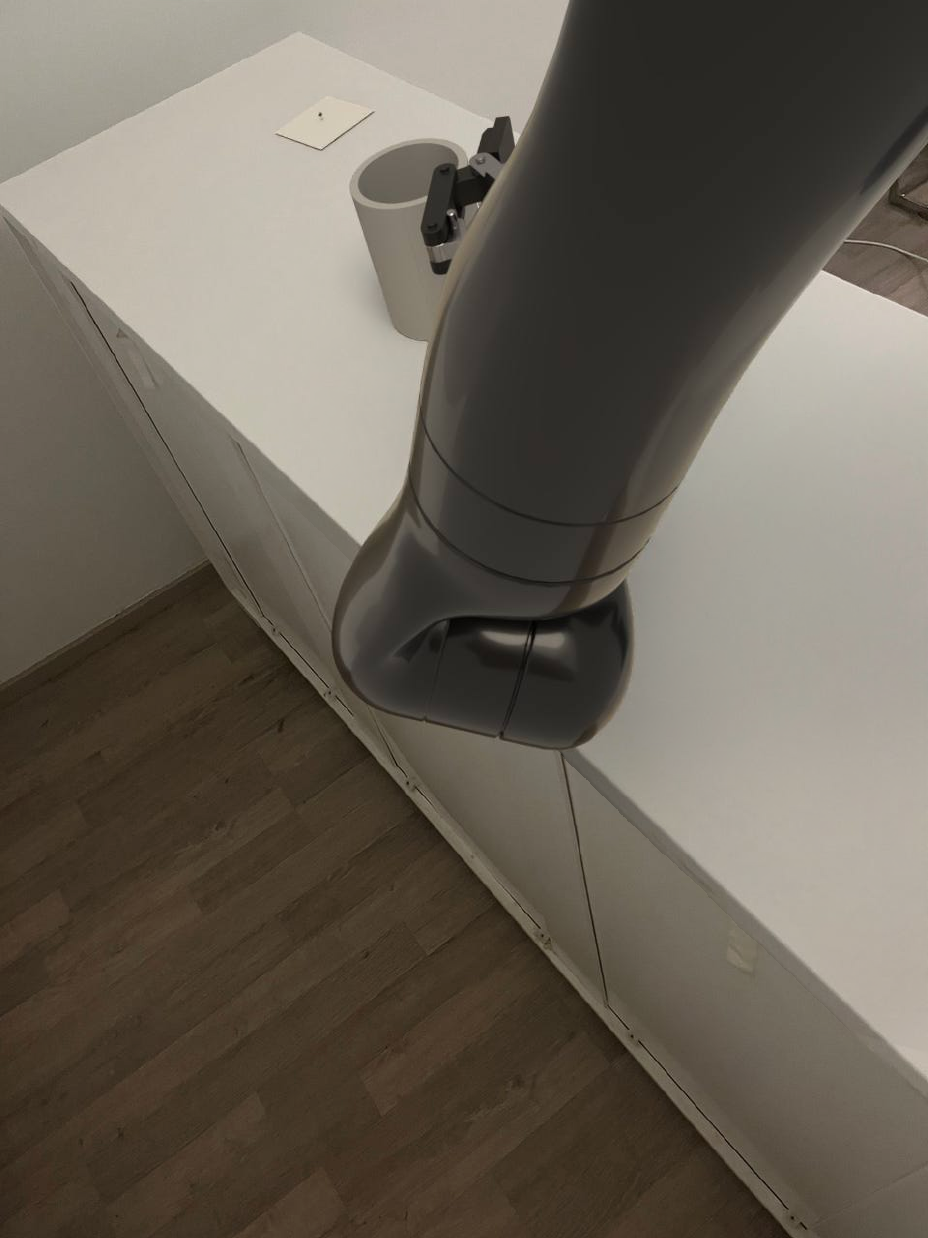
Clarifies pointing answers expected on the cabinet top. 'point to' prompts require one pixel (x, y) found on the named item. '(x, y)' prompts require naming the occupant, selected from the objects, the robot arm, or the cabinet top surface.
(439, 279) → the cup
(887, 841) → the cabinet top surface
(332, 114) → the coaster
